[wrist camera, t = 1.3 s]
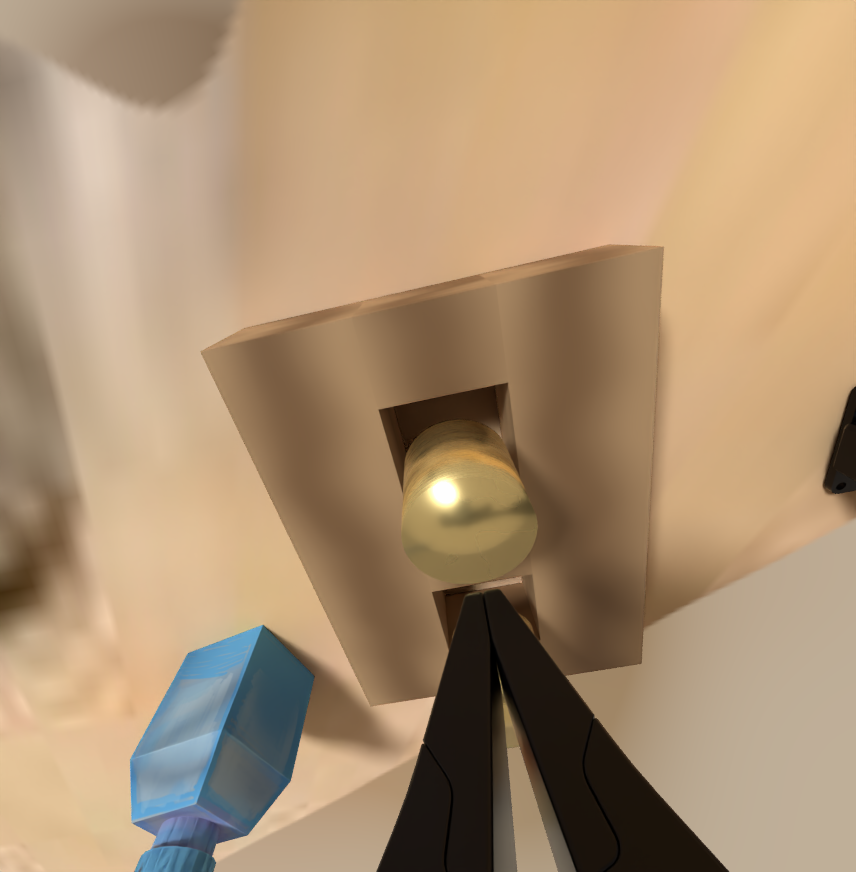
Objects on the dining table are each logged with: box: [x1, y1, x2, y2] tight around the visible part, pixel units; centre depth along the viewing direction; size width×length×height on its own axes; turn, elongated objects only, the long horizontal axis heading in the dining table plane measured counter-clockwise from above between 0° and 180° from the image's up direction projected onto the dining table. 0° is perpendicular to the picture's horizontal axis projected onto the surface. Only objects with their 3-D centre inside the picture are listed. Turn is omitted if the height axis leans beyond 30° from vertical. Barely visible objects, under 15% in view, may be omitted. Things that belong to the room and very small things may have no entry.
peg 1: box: [401, 419, 538, 584], centre depth 13 cm, size 4×4×4 cm
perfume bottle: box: [130, 625, 314, 872], centre depth 23 cm, size 6×6×12 cm
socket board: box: [201, 245, 664, 706], centre depth 20 cm, size 16×22×4 cm
